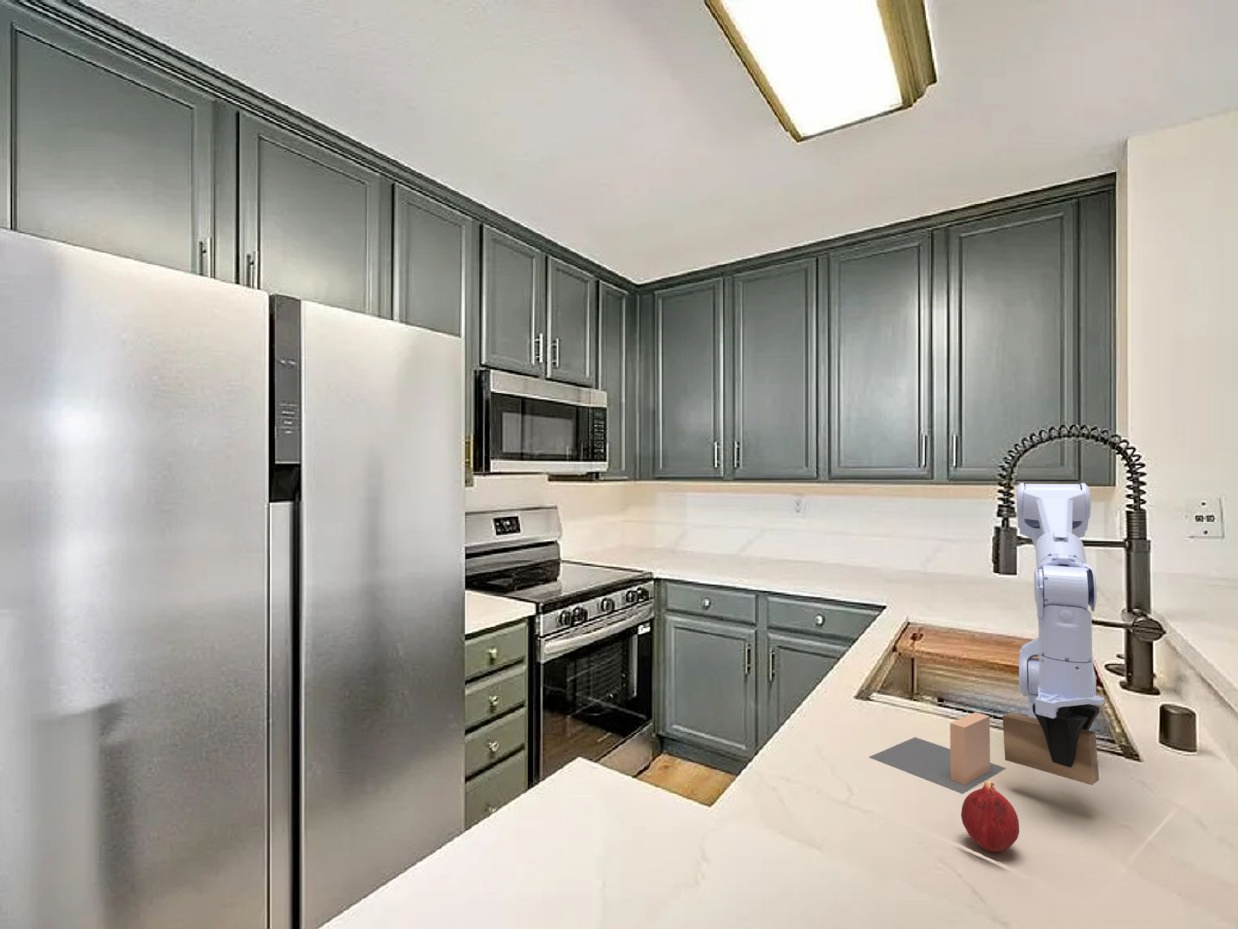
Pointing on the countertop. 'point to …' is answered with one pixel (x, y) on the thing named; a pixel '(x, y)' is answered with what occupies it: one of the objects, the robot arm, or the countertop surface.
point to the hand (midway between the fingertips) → (1066, 761)
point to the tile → (969, 747)
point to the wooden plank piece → (1032, 749)
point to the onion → (990, 819)
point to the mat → (929, 763)
